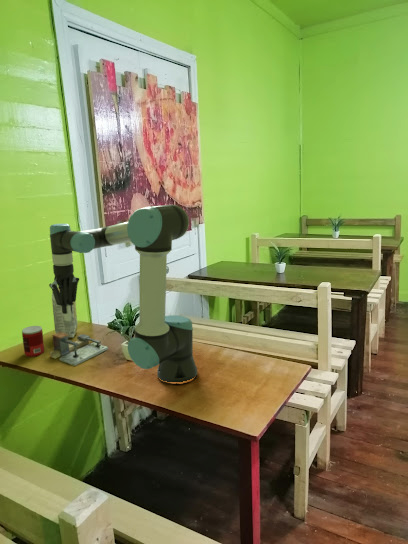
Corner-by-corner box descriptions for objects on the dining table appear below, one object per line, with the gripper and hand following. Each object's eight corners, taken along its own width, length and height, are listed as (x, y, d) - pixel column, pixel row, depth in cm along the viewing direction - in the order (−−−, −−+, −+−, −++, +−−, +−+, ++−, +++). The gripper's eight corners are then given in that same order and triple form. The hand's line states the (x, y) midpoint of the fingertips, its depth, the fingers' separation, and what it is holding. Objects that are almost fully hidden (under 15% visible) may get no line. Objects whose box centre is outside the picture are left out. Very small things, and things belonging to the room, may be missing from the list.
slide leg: (82, 357, 166) (81, 338, 164) (74, 361, 163) (72, 341, 161) (62, 349, 173) (60, 331, 171) (53, 353, 170) (52, 334, 168)
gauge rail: (103, 347, 176) (102, 340, 175) (69, 364, 161) (68, 355, 160) (83, 341, 182) (82, 333, 182) (49, 356, 168) (48, 348, 167)
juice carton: (79, 331, 193) (75, 283, 187) (75, 338, 185) (70, 288, 179) (59, 332, 192) (54, 284, 186) (54, 339, 185) (49, 289, 179)
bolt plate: (108, 349, 174) (107, 346, 174) (74, 366, 159) (74, 363, 159) (93, 344, 179) (93, 341, 179) (59, 360, 164) (59, 357, 164)
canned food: (47, 349, 174) (45, 325, 171) (38, 357, 166) (35, 333, 164) (30, 348, 175) (28, 325, 172) (21, 357, 167) (18, 332, 164)
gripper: (70, 259, 164) (74, 313, 170) (42, 265, 154) (48, 323, 160) (82, 261, 160) (86, 317, 166) (55, 268, 150) (60, 327, 156)
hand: (68, 320), depth 163 cm, fingers closed
